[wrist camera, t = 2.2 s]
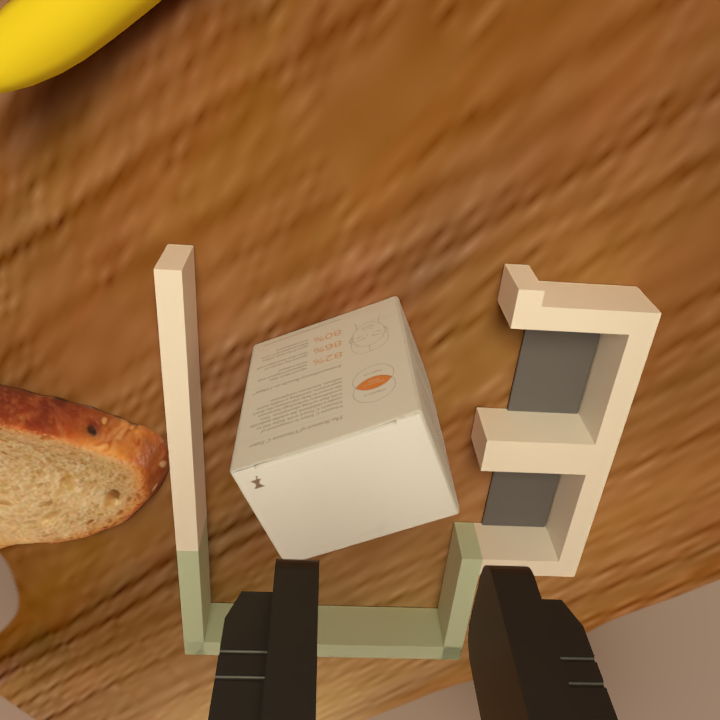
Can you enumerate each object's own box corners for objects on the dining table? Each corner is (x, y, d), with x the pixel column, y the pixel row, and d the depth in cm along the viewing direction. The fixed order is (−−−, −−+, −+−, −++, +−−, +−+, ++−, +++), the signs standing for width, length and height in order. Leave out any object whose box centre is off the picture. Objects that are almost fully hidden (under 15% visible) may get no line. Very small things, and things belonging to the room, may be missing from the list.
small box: (293, 424, 38) (280, 570, 29) (251, 341, 35) (223, 474, 26) (431, 380, 37) (463, 518, 28) (399, 291, 34) (423, 412, 25)
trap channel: (167, 244, 33) (153, 269, 30) (641, 271, 34) (666, 297, 32) (193, 614, 46) (185, 654, 43) (534, 622, 47) (546, 661, 45)
